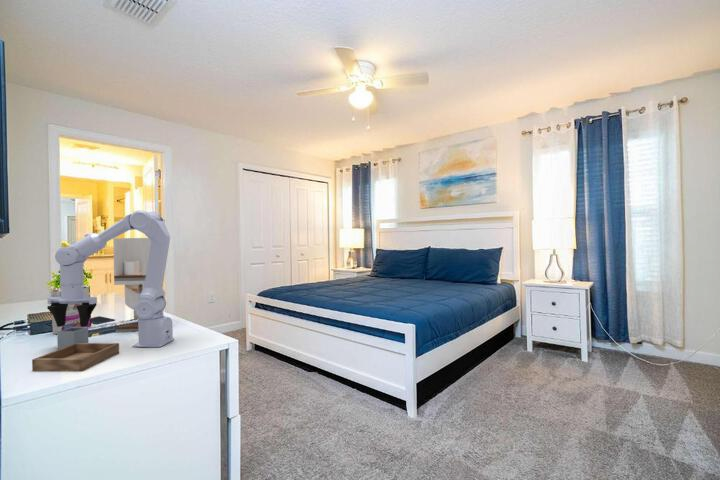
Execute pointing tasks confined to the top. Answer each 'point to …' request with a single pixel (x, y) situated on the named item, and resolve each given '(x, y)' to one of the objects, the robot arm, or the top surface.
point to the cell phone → (101, 320)
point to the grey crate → (72, 336)
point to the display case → (131, 271)
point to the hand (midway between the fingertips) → (72, 326)
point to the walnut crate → (75, 357)
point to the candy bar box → (70, 313)
